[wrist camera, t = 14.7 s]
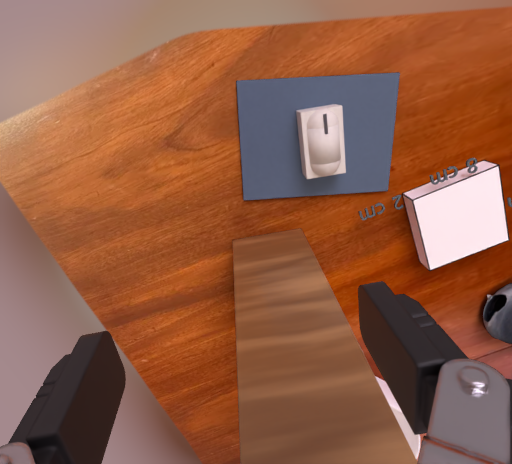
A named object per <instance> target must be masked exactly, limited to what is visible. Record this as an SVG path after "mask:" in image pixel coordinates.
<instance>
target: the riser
mask: <svg viewBox="0 0 512 464" xmlns="http://www.w3.org/2000/svg"><path fill="white" fill-rule="evenodd" d="M233 268H234V296H235V324H236V352H237V380H238V408H239V436H240V464H417V463H418V462H417V460H416V458H415V456H414V454H413V452H412V450H411V448H410V446H409V443H408V441H407V439H406V437H405V435H404V433H403V431H402V429H401V427H400V425H399V423H398V421H397V419H396V417H395V415H394V413H393V411H392V409H391V407H390V405H389V403H388V401H387V399H386V397H385V395H384V393H383V391H382V389H381V387H380V385H379V383H378V381H377V379H376V377H375V375H374V373H373V371H372V369H371V367H370V365H369V363H368V361H367V359H366V357H365V355H364V353H363V351H362V349H361V347H360V345H359V343H358V341H357V339H356V337H355V335H354V333H353V331H352V329H351V327H350V325H349V323H348V321H347V319H346V317H345V315H344V313H343V311H342V309H341V307H340V305H339V303H338V301H337V299H336V297H335V295H334V293H333V291H332V289H331V287H330V285H329V283H328V281H327V279H326V277H325V275H324V273H323V271H322V269H321V267H320V265H319V263H318V261H317V259H316V257H315V255H314V253H313V251H312V249H311V247H310V245H309V243H308V241H307V239H306V237H305V235H304V233H303V231H302V229H301V228H300V229H294V230H288V231H282V232H276V233H270V234H264V235H259V236H253V237H247V238H241V239H235V240H233Z"/></svg>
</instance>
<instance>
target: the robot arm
mask: <svg viewBox="0 0 512 464" xmlns="http://www.w3.org/2000/svg"><path fill="white" fill-rule="evenodd" d="M358 299H359V321H360V330H361V334H362V338H363V340H364V343H365V345H366V347H367V349H368V350H369V352H370V354H371V356H372V358H373V360H374V361H375V363H376V365H377V367H378V369H379V371H380V372H381V374H382V376H383V378H384V380H385V382H386V383H387V385H388V387H389V389H390V391H391V393H392V394H393V396H394V398H395V400H396V402H397V404H398V405H399V407H400V409H401V411H402V413H403V415H404V416H405V418H406V420H407V422H408V424H409V425H410V427H411V429H412V431H413V433H414V435H418V434H423V433H427V435H426V436H424V437H423V440H422V444H421V449H420V453H419V458H418V463H417V464H512V380H511V379H506V378H504V376H503V375H502V374H501V373H500V372H498V371H497V370H496V369H494V368H493V367H491V366H489V365H487V364H485V363H483V362H480V361H476V360H472V359H469V358H468V357H467V356H466V355H465V354H464V353H463V352H462V351H461V349H460V348H459V347H458V346H457V345H456V344H455V343H454V342H453V340H452V339H451V338H450V337H449V336H448V335H447V334H446V333H445V331H444V330H443V329H442V328H441V327H440V326H439V325H437V324H436V321H435V320H434V319H433V318H432V317H431V316H430V315H428V312H427V311H426V310H425V309H424V308H423V307H422V306H421V304H420V303H419V302H417V301H416V300H414V299H412V298H410V297H408V296H407V295H405V294H399V295H394V293H393V292H392V291H391V290H390V288H389V287H388V286H387V285H386V283H385V282H383V281H381V282H376V283H370V284H365V285H360V286H359V288H358ZM125 380H126V379H125V371H124V367H123V364H122V361H121V359H120V356H119V354H118V351H117V349H116V346H115V344H114V341H113V339H112V336H111V334H110V333H109V332H108V331H103V332H98V333H92V334H87V335H83V336H81V337H80V338H79V340H78V342H77V344H76V345H75V347H74V349H73V351H72V353H71V354H69V355H65V356H64V357H63V358H62V359H61V360H60V361H59V362H58V363H57V364H56V365H55V366H54V367H53V368H52V369H51V370H50V372H49V374H48V376H47V377H46V379H45V381H44V383H43V386H41V388H40V390H39V391H38V393H37V395H36V398H35V399H34V400H33V401H32V403H31V405H30V407H29V408H28V410H27V412H26V413H25V415H24V417H23V419H22V420H21V422H20V424H19V426H18V427H17V429H16V431H15V432H14V434H13V436H12V438H11V439H10V441H9V443H8V444H6V445H3V446H1V447H0V464H101V463H102V460H103V457H104V453H105V450H106V447H107V444H108V440H109V437H110V434H111V430H112V427H113V424H114V421H115V418H116V414H117V411H118V408H119V405H120V401H121V398H122V395H123V391H124V388H125Z"/></svg>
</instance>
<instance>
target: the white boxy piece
mask: <svg viewBox="0 0 512 464" xmlns="http://www.w3.org/2000/svg"><path fill="white" fill-rule="evenodd" d="M296 115H297V125H298V135H299V145H300V155H301V164H302V173H303V175H304V176H305V177H306V179H312V178H318V177H324V176H330V175H336V174H342V173H346V165H345V146H344V127H343V109H342V106H341V105H337V104H332V105H326V106H320V107H314V108H308V109H302V110H297V111H296Z"/></svg>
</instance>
